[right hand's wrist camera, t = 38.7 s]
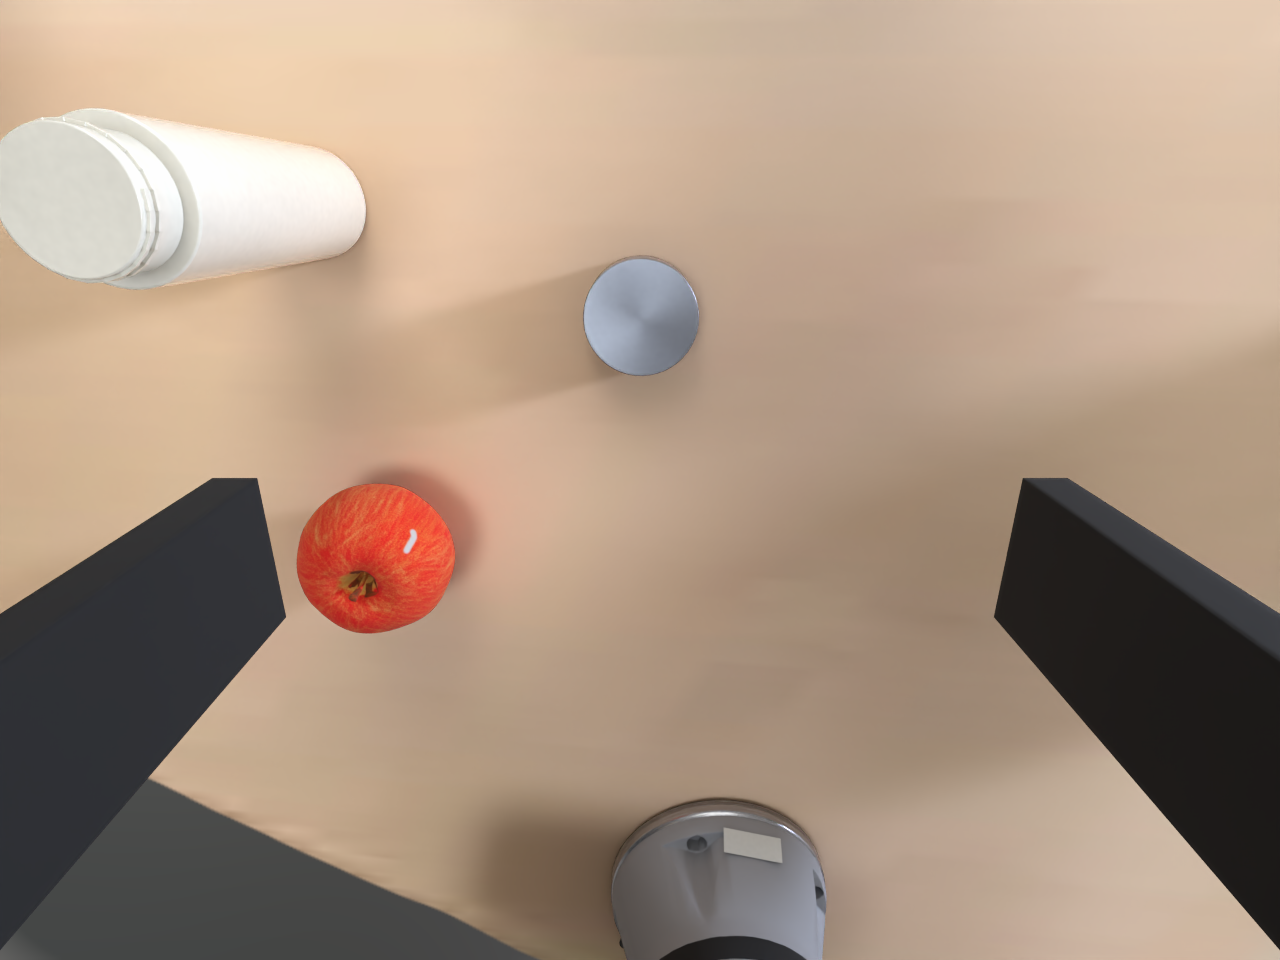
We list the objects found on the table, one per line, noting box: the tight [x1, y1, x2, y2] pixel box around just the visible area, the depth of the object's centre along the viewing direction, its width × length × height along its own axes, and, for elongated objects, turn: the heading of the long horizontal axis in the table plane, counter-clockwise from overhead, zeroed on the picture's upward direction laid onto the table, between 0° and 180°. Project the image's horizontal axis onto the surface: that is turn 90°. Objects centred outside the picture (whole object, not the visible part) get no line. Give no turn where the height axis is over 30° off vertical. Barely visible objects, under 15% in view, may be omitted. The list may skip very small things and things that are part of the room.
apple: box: [297, 484, 455, 633], centre depth 38 cm, size 8×8×8 cm
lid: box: [583, 256, 699, 376], centre depth 36 cm, size 6×6×2 cm
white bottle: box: [0, 108, 366, 290], centre depth 28 cm, size 5×5×16 cm
